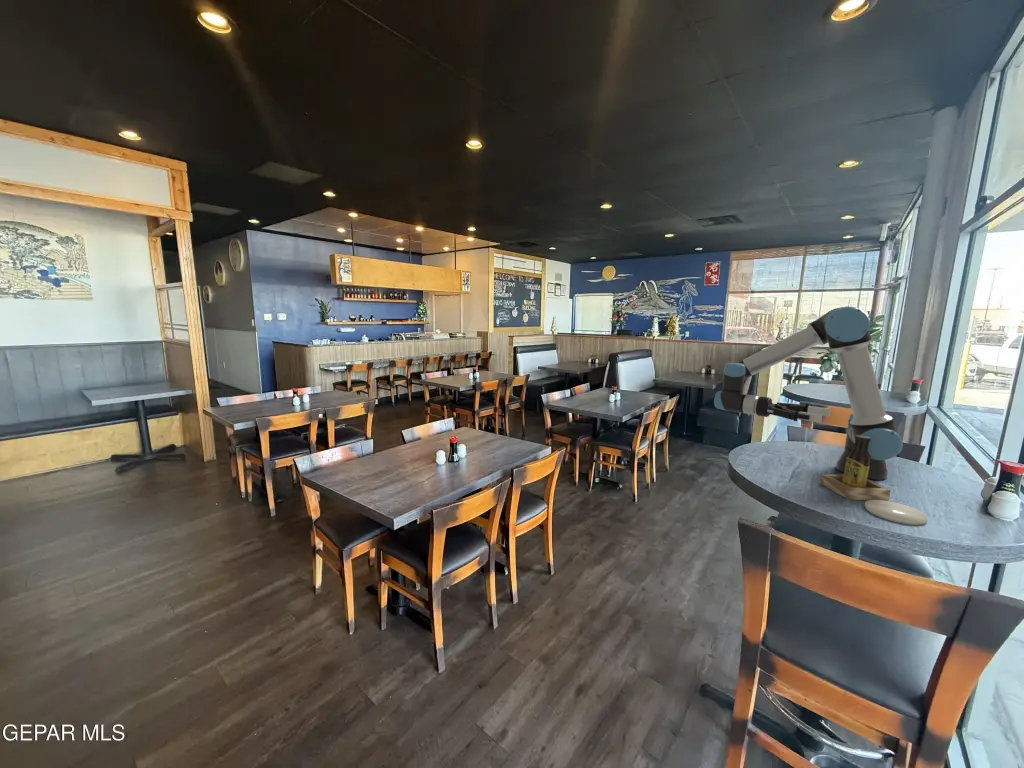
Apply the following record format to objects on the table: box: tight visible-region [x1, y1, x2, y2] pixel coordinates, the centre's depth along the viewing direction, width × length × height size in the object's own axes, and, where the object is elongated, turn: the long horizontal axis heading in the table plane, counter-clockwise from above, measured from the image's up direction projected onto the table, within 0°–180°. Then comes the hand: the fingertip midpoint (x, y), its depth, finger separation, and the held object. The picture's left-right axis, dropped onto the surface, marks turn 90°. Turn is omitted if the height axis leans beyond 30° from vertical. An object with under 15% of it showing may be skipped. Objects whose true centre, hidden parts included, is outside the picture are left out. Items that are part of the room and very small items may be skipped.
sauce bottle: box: [842, 435, 871, 488], centre depth 140 cm, size 6×6×20 cm
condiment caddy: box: [819, 473, 891, 501], centre depth 141 cm, size 13×13×4 cm
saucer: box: [864, 500, 928, 526], centre depth 125 cm, size 14×14×1 cm
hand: (825, 415), depth 144 cm, fingers open, 13 cm apart
